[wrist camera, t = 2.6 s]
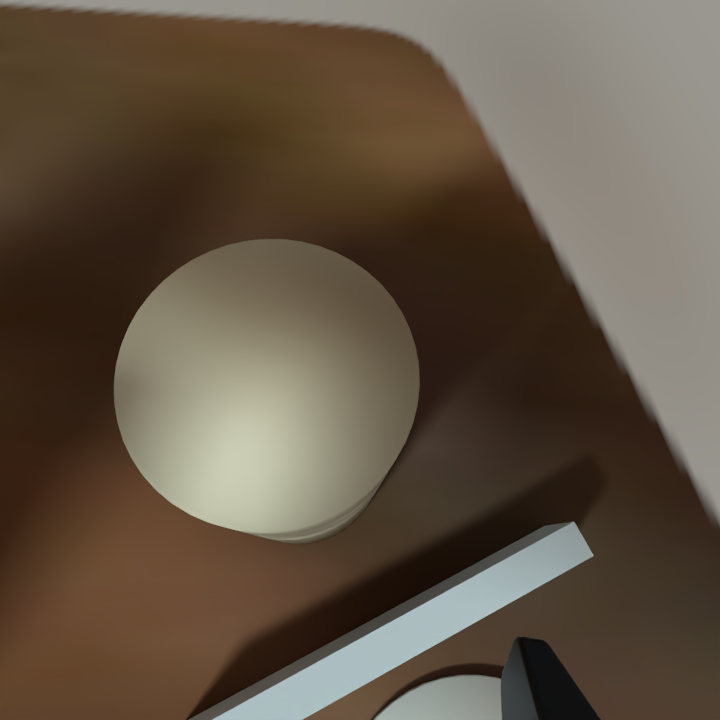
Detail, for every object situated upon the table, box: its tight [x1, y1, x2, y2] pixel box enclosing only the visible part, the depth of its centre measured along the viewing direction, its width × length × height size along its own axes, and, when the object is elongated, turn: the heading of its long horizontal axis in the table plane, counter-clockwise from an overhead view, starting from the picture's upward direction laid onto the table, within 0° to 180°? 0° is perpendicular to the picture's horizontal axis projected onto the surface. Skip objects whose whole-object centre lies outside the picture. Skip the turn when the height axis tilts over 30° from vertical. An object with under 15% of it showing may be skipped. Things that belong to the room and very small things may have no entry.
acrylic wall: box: [189, 522, 594, 720], centre depth 17 cm, size 12×1×2 cm, turn 116°
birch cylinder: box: [114, 239, 420, 544], centre depth 15 cm, size 5×5×10 cm
